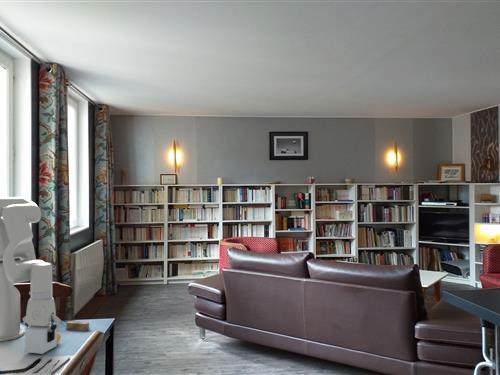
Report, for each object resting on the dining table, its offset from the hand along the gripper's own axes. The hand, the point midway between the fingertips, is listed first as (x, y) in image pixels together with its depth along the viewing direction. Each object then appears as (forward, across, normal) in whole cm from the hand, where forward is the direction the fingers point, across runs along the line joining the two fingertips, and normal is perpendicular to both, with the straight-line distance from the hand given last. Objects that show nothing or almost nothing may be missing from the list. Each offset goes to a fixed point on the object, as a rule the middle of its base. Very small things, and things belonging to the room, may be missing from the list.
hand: (41, 339), depth 149 cm
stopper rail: (+4, -1, +23) cm, 23 cm away
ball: (+2, 0, +6) cm, 7 cm away
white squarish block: (+3, 0, 0) cm, 3 cm away
